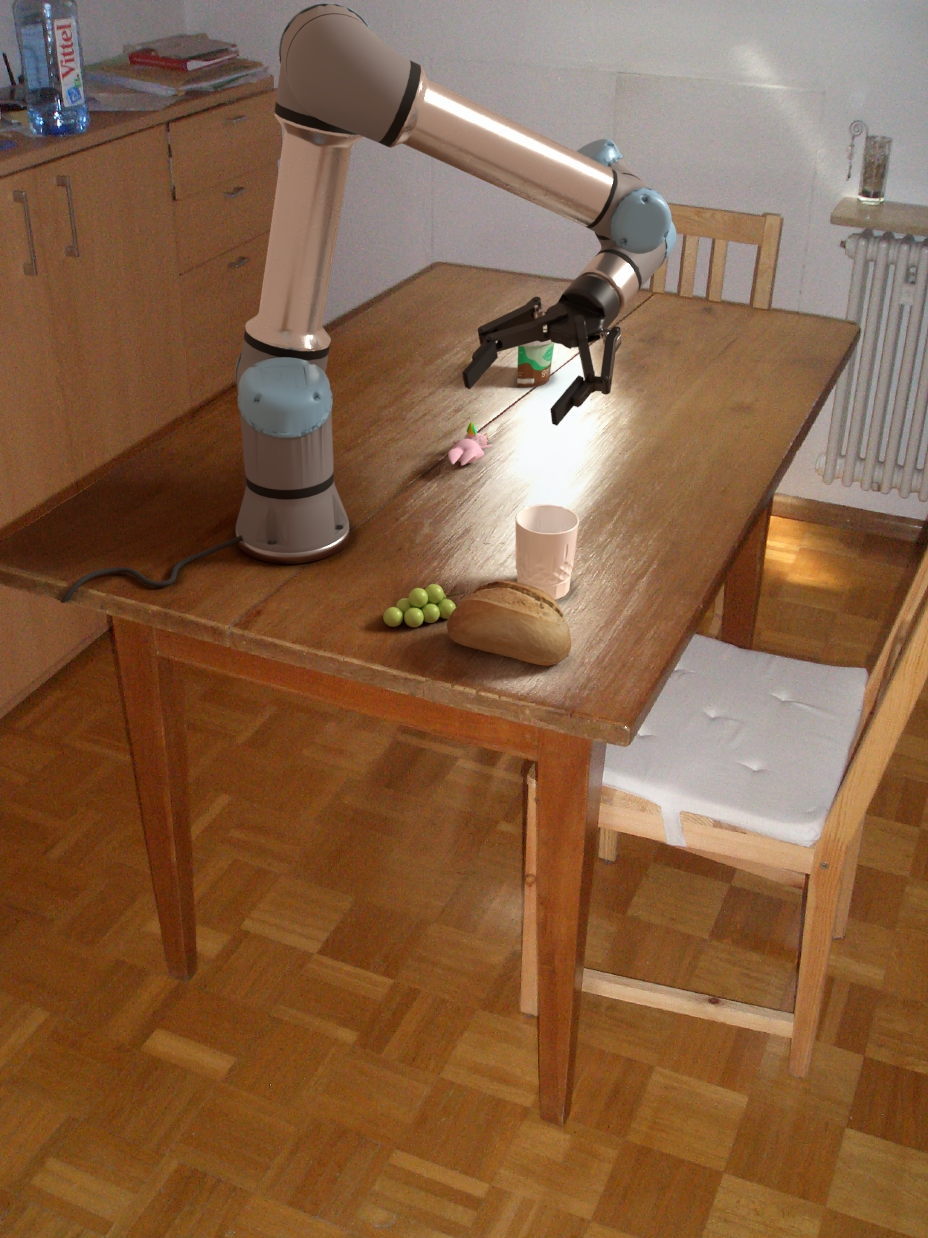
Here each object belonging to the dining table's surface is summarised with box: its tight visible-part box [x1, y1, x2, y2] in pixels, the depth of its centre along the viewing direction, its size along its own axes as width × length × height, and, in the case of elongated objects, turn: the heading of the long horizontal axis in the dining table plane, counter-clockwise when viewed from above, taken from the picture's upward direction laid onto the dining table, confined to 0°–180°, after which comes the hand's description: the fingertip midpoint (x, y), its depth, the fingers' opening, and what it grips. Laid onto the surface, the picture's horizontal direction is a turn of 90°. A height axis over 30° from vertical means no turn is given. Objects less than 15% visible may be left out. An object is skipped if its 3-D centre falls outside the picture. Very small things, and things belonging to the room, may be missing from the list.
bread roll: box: [446, 580, 572, 667], centre depth 148 cm, size 10×15×8 cm, turn 73°
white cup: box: [514, 504, 580, 601], centre depth 159 cm, size 8×8×10 cm
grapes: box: [382, 583, 466, 628], centre depth 155 cm, size 11×5×4 cm, turn 118°
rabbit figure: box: [447, 421, 493, 466], centre depth 192 cm, size 6×6×15 cm
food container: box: [516, 324, 555, 389], centre depth 220 cm, size 12×6×10 cm, turn 168°
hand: (508, 398), depth 161 cm, fingers open, 13 cm apart
